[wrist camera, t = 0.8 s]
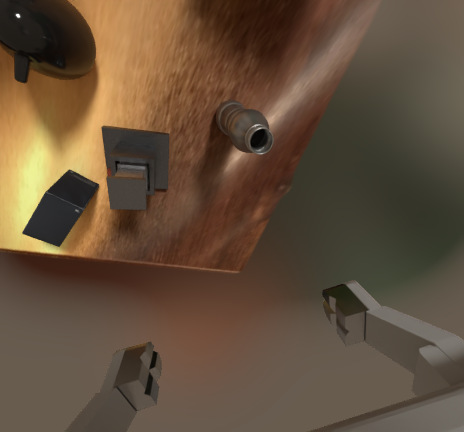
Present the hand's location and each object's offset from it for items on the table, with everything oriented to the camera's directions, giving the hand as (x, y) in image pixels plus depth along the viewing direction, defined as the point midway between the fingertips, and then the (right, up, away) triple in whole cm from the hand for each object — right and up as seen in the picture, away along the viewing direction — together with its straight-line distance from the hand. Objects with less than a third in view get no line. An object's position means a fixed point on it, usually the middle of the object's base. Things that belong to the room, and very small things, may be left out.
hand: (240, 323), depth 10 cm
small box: (-35, +10, +37) cm, 52 cm away
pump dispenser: (-27, +32, +24) cm, 49 cm away
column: (-20, +16, +35) cm, 43 cm away
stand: (-20, +17, +36) cm, 45 cm away
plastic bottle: (-1, +26, +36) cm, 45 cm away
